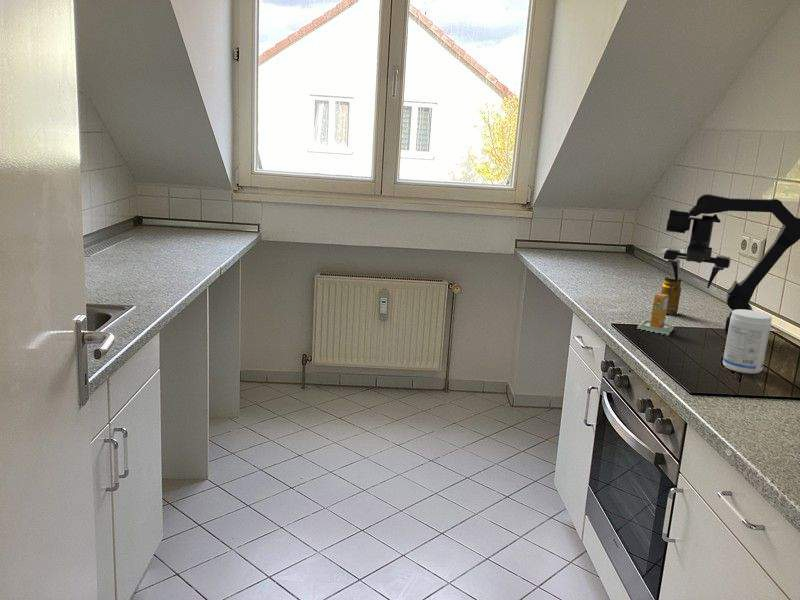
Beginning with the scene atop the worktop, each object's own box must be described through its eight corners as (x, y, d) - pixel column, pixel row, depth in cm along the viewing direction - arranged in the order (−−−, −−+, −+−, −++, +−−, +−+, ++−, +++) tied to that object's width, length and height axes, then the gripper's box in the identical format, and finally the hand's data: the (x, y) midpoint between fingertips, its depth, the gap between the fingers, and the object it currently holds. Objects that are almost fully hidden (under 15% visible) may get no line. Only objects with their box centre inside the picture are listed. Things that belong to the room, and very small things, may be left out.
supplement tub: (736, 361, 200) (746, 307, 197) (769, 372, 192) (780, 317, 189) (713, 364, 195) (723, 310, 191) (746, 376, 187) (758, 319, 184)
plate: (672, 329, 229) (673, 324, 229) (668, 335, 221) (669, 330, 221) (642, 323, 233) (643, 319, 233) (637, 329, 225) (637, 324, 225)
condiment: (653, 309, 255) (659, 275, 252) (677, 311, 256) (683, 276, 253) (662, 315, 248) (668, 279, 245) (687, 316, 249) (693, 281, 246)
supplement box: (648, 325, 227) (653, 293, 225) (654, 324, 229) (659, 292, 227) (658, 328, 224) (664, 296, 222) (664, 327, 227) (669, 295, 225)
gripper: (664, 233, 226) (656, 284, 229) (731, 242, 217) (721, 295, 221) (670, 230, 235) (662, 279, 239) (734, 239, 227) (725, 289, 230)
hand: (692, 285), depth 232 cm, fingers open, 9 cm apart
